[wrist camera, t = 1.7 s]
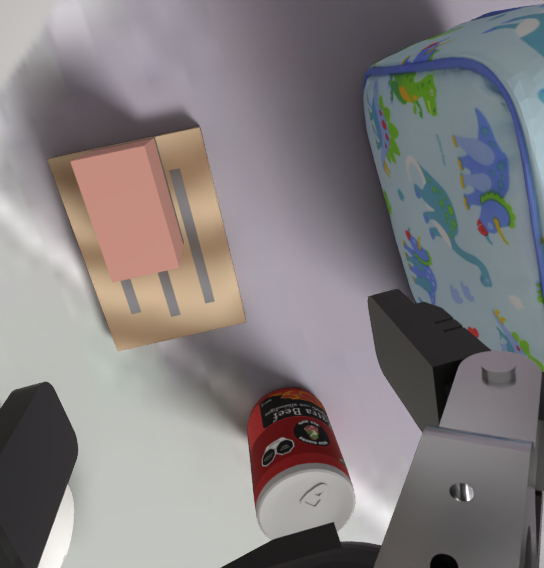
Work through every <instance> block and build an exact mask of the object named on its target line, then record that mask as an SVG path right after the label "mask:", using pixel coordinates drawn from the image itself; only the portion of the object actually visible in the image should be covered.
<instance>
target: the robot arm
mask: <svg viewBox="0 0 544 568" xmlns="http://www.w3.org/2000/svg"><path fill="white" fill-rule="evenodd" d="M368 309H369V315H370V321H371V327H372V333H373V339H374V345H375V351H376V355H377V359H378V362H379V365H380V368H381V370H382V372H383V374H384V376H385V377H386V379H387V380H388V382H389V383H390V385H391V386H392V388H393V389H394V391H395V392H396V394H397V395H398V397H399V398H400V400H401V401H402V403H403V404H404V406H405V407H406V409H407V410H408V412H409V413H410V415H411V416H412V418H413V419H414V421H415V422H416V424H417V425H418V427H419V428H420V430H421V431H422V436H421V439H420V441H419V444H418V447H417V450H416V452H415V455H414V458H413V461H412V463H411V466H410V469H409V472H408V474H407V477H406V480H405V483H404V485H403V488H402V491H401V494H400V496H399V499H398V502H397V505H396V507H395V510H394V513H393V516H392V518H391V521H390V524H389V527H388V529H387V532H386V535H385V538H384V540H383V543H382V546H381V545H376V544H371V543H365V542H352V541H351V542H340V540H339V537H338V534H337V530H336V527H335V524H334V522H332V523H328V524H325V525H321V526H318V527H314V528H311V529H307V530H304V531H300V532H297V533H293V534H290V535H286V536H283V537H279V538H276V539H273V540H271V541H270V542H268V543H266V544H264V545H262V546H260V547H258V548H257V549H255V550H253V551H251V552H249V553H247V554H245V555H244V556H242V557H240V558H238V559H236V560H234V561H232V562H230V563H229V564H227V565H225V566H223V567H221V568H539V562H540V547H541V531H542V516H543V500H544V372H541V369H540V367H539V366H538V365H537V364H536V363H535V362H534V361H533V360H531V359H530V358H528V357H526V356H523V355H520V354H517V353H513V352H507V351H492V350H490V349H489V348H488V347H487V346H486V345H485V344H483V343H482V342H481V341H480V340H479V339H478V338H476V337H475V336H474V335H473V334H472V333H471V332H469V331H468V330H467V329H466V328H463V326H462V325H461V324H460V323H459V322H458V321H457V320H455V319H453V317H452V316H451V315H450V314H448V313H447V312H446V311H445V310H444V309H443V308H441V307H438V306H435V305H432V304H430V303H427V302H420V303H417V304H414V303H413V302H412V301H411V300H410V299H409V298H408V297H407V296H405V295H404V294H403V293H402V292H401V291H400V290H399V289H394V290H390V291H387V292H383V293H379V294H375V295H372V296H369V297H368ZM77 455H78V443H77V438H76V435H75V432H74V430H73V428H72V425H71V423H70V421H69V419H68V417H67V415H66V413H65V411H64V408H63V406H62V404H61V402H60V400H59V398H58V396H57V394H56V391H55V390H54V388H53V386H52V385H51V384H50V383H48V382H42V383H38V384H35V385H31V386H27V387H23V388H20V389H16V390H14V391H12V392H11V394H10V395H9V397H8V398H7V400H6V401H5V403H4V404H3V406H2V407H1V409H0V568H38V565H39V563H40V560H41V557H42V554H43V551H44V549H45V546H46V543H47V540H48V538H49V535H50V532H51V529H52V526H53V524H54V521H55V518H56V515H57V512H58V510H59V507H60V504H61V501H62V499H63V496H64V493H65V490H66V487H67V485H68V482H69V479H70V476H71V473H72V471H73V468H74V465H75V462H76V459H77Z"/></svg>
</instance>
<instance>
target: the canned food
mask: <svg viewBox="0 0 544 568" xmlns="http://www.w3.org/2000/svg"><path fill="white" fill-rule="evenodd" d="M247 434H248V444H249V454H250V463H251V473H252V483H253V493H254V502H255V509H256V517H257V519H258V524H259V526H260V529H261V530H262V532H263V533H264V534H265V535H266V536H267V537H268V538H269V539H271V540H273V539H276V538H279V537H283V536H286V535H290V534H293V533H297V532H300V531H304V530H307V529H311V528H314V527H318V526H321V525H325V524H328V523H332V522H334V524H335V527H336V530H337V532H339V531H340V530H341V529H342V528H343V527H344V526H345V525H346V523H347V522H348V521H349V519H350V518H351V516H352V513H353V511H354V507H355V494H354V489H353V485H352V482H351V479H350V476H349V473H348V470H347V468H346V465H345V462H344V459H343V457H342V454H341V451H340V449H339V446H338V443H337V441H336V438H335V435H334V432H333V430H332V427H331V424H330V422H329V419H328V416H327V413H326V411H325V408H324V407H323V405H322V403H321V402H320V401H319V400H318V399H317V398H316V397H315V396H314V395H312V394H311V393H309V392H308V391H305V390H302V389H298V388H284V389H279V390H276V391H273V392H271V393H269V394H268V395H266V396H265V397H263V398H262V399H261V400H260V401H259V402H258V403H257V404H256V405H255V407H254V408H253V410H252V412H251V415H250V418H249V421H248V426H247Z"/></svg>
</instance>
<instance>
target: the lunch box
mask: <svg viewBox="0 0 544 568" xmlns="http://www.w3.org/2000/svg"><path fill="white" fill-rule="evenodd" d="M363 103H364V114H365V122H366V128H367V133H368V138H369V142H370V146H371V149H372V153H373V157H374V161H375V164H376V168H377V172H378V176H379V179H380V183H381V186H382V190H383V194H384V197H385V201H386V204H387V207H388V211H389V214H390V219H391V223H392V227H393V231H394V235H395V239H396V243H397V246H398V249H399V252H400V256H401V259H402V262H403V266H404V269H405V273H406V276H407V279H408V283H409V286H410V289H411V291H412V294H413V296H414V299H415V301H416V303H420V302H427V303H430V304H432V305H435V306H438V307H441V308H443V309H444V310H445V311H446V312H447V313H448V314H450V315H451V316H452V317H453V319H455V320H457V321H458V322H459V323H460V324H461V325H462V326H463V328H466V329H467V330H468V331H469V332H471V333H472V334H473V335H474V336H475V337H476V338H478V339H479V340H480V341H481V342H482V343H483V344H485V345H486V346H487V347H488V348H489V349H490V350H492V351H507V352H513V353H517V354H520V355H523V356H526V357H528V358H530V359H531V360H533V361H534V362H535V363H536V364H537V365H538V366H539V367H540V369H541V372H544V4H540V5H532V6H525V7H518V8H512V9H506V10H500V11H494V12H490V13H487V14H484V15H482V16H480V17H478V18H475V19H473V20H471V21H469V22H465V23H462V24H459V25H457V26H455V27H453V28H451V29H449V30H448V31H446V32H444V33H441V34H439V35H437V36H434V37H432V38H429V39H426V40H423V41H421V42H418V43H415V44H413V45H411V46H409V47H407V48H405V49H403V50H401V51H400V52H397V53H395V54H393V55H390V56H388V57H386V58H384V59H382V60H380V61H379V62H377V63H375V64H373V65H372V66H371V67H370V68H369V69H368V70H367V72H366V73H365V75H364V79H363Z"/></svg>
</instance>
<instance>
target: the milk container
mask: <svg viewBox="0 0 544 568" xmlns="http://www.w3.org/2000/svg"><path fill="white" fill-rule="evenodd" d="M73 523H74V501H73V496H72V493H71V490H70V487H69V484H68V485H67V487H66V490H65V493H64V496H63V499H62V501H61V504H60V507H59V510H58V512H57V515H56V518H55V521H54V524H53V526H52V529H51V532H50V535H49V538H48V540H47V543H46V546H45V549H44V551H43V554H42V557H41V560H40V563H39V565H38V568H61V566H62V564H63V562H64V559H65V557H66V554H67V552H68V548H69V545H70V541H71V537H72V531H73Z"/></svg>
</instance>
